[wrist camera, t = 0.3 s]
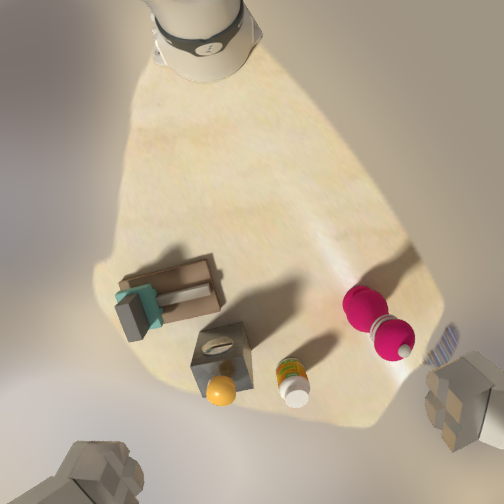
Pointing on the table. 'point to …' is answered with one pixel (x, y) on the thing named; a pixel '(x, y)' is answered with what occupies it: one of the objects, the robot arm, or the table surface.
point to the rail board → (177, 283)
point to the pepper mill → (378, 323)
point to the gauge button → (221, 390)
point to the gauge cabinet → (223, 357)
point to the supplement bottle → (293, 382)
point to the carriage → (138, 311)
